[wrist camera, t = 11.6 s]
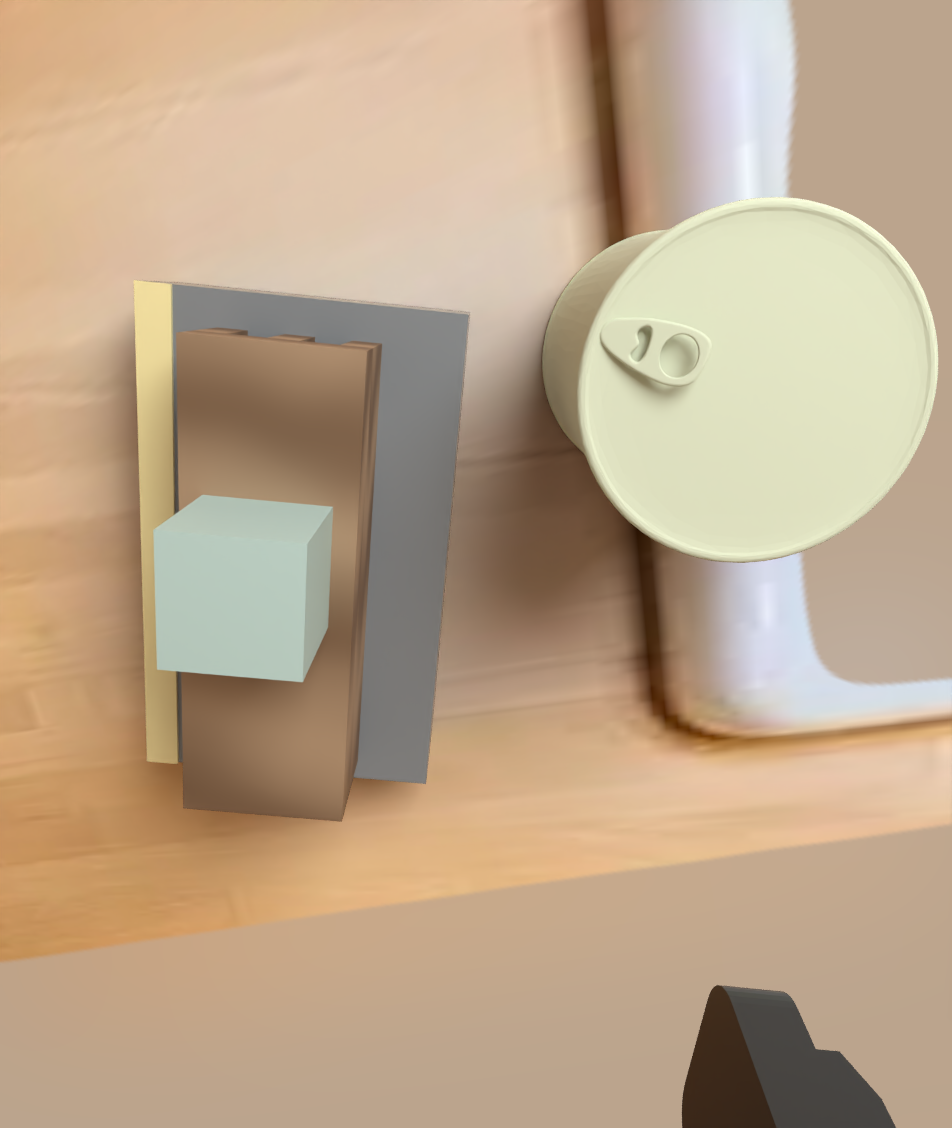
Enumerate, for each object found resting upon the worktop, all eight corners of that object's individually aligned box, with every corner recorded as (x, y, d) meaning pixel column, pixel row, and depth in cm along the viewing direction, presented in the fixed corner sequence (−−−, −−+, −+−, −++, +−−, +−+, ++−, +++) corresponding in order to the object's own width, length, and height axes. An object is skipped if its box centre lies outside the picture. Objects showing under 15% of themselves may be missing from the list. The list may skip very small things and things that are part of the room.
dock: (177, 282, 31) (133, 280, 27) (470, 312, 31) (468, 314, 27) (182, 711, 37) (146, 761, 33) (431, 733, 37) (425, 786, 33)
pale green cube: (202, 494, 25) (153, 530, 22) (333, 506, 25) (307, 543, 22) (203, 616, 27) (157, 669, 23) (328, 627, 27) (302, 682, 23)
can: (597, 191, 30) (669, 127, 19) (825, 284, 31) (1026, 278, 20) (506, 429, 33) (521, 502, 21) (718, 508, 34) (841, 618, 22)
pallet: (217, 327, 28) (175, 332, 24) (382, 343, 28) (366, 351, 24) (218, 748, 33) (183, 808, 29) (357, 760, 33) (341, 821, 29)
